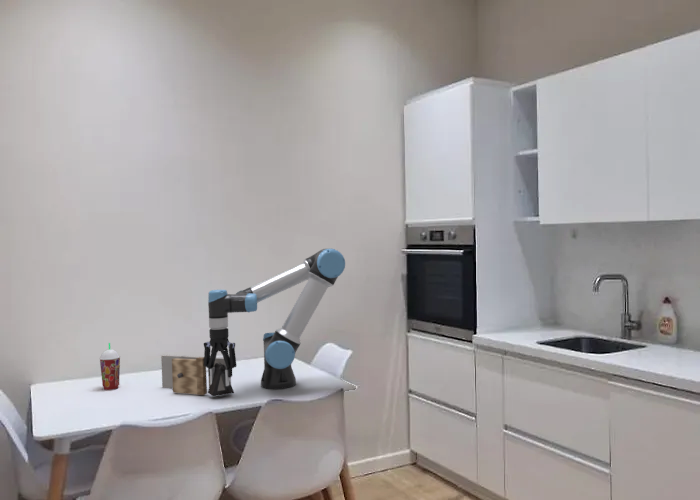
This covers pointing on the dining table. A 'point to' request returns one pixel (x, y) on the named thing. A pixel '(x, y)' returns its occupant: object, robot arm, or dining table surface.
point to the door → (189, 376)
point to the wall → (167, 370)
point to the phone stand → (216, 378)
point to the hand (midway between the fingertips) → (220, 384)
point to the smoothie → (110, 369)
